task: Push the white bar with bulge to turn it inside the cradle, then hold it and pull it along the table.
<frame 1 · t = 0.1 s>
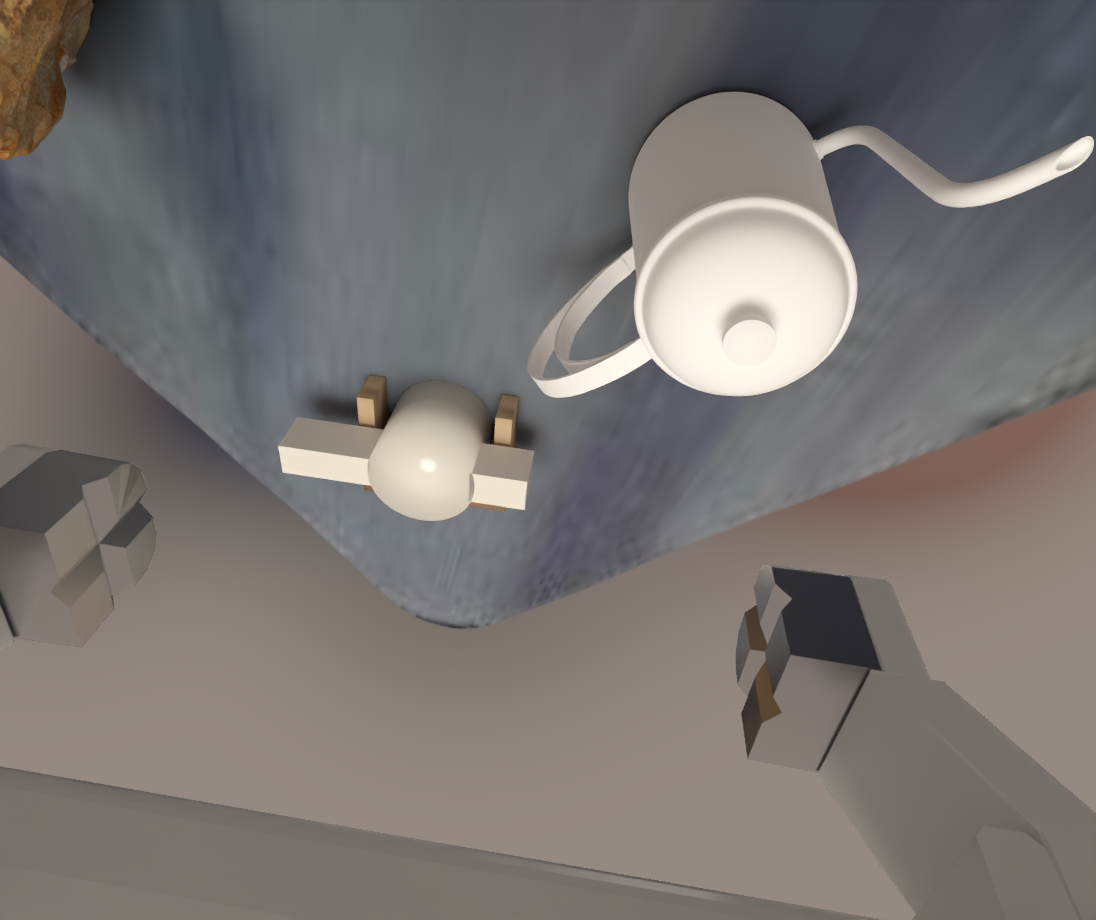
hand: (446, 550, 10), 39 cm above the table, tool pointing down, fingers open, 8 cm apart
white bar with bulge: (443, 422, 58), on the table
cradle: (443, 422, 58), on the table
coffeepot: (729, 182, 44), on the table
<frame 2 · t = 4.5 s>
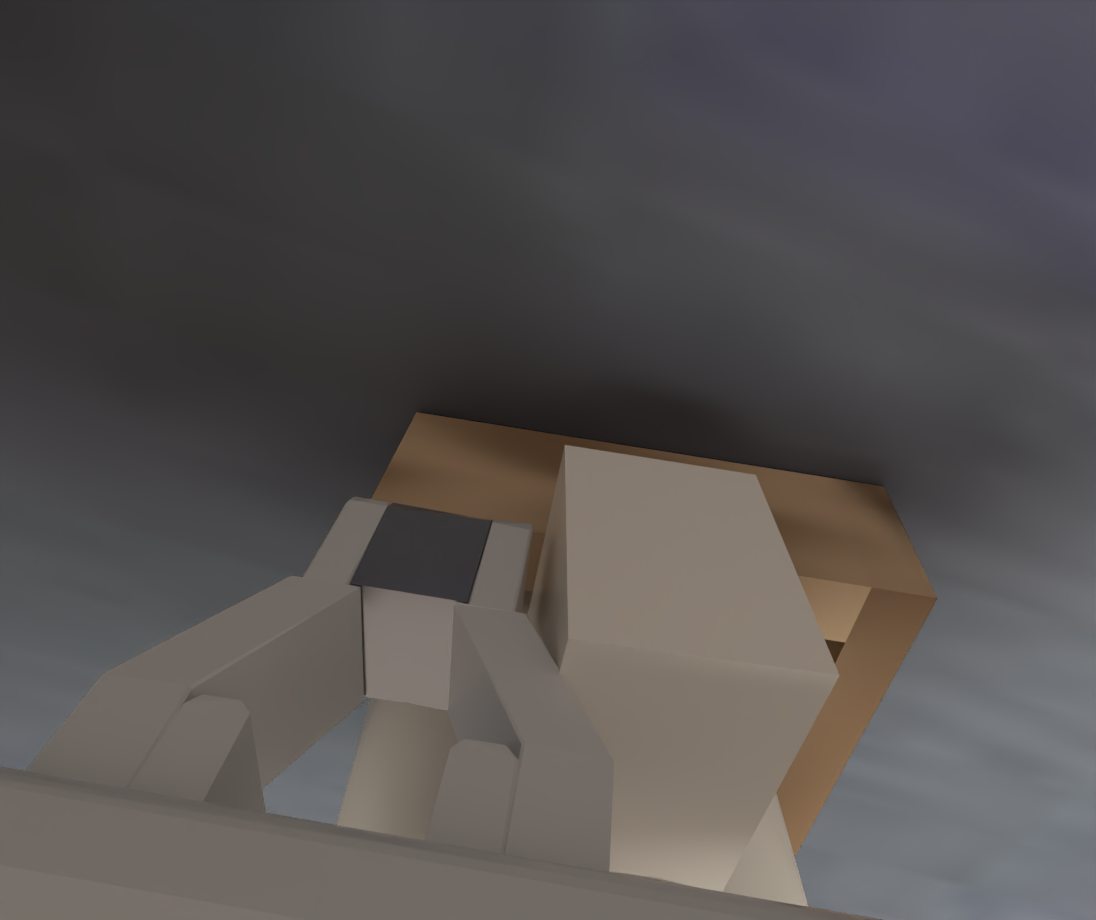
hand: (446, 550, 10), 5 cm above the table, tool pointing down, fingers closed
white bar with bulge: (559, 655, 17), on the table, tilted 6°, touching gripper
cradle: (557, 648, 17), on the table
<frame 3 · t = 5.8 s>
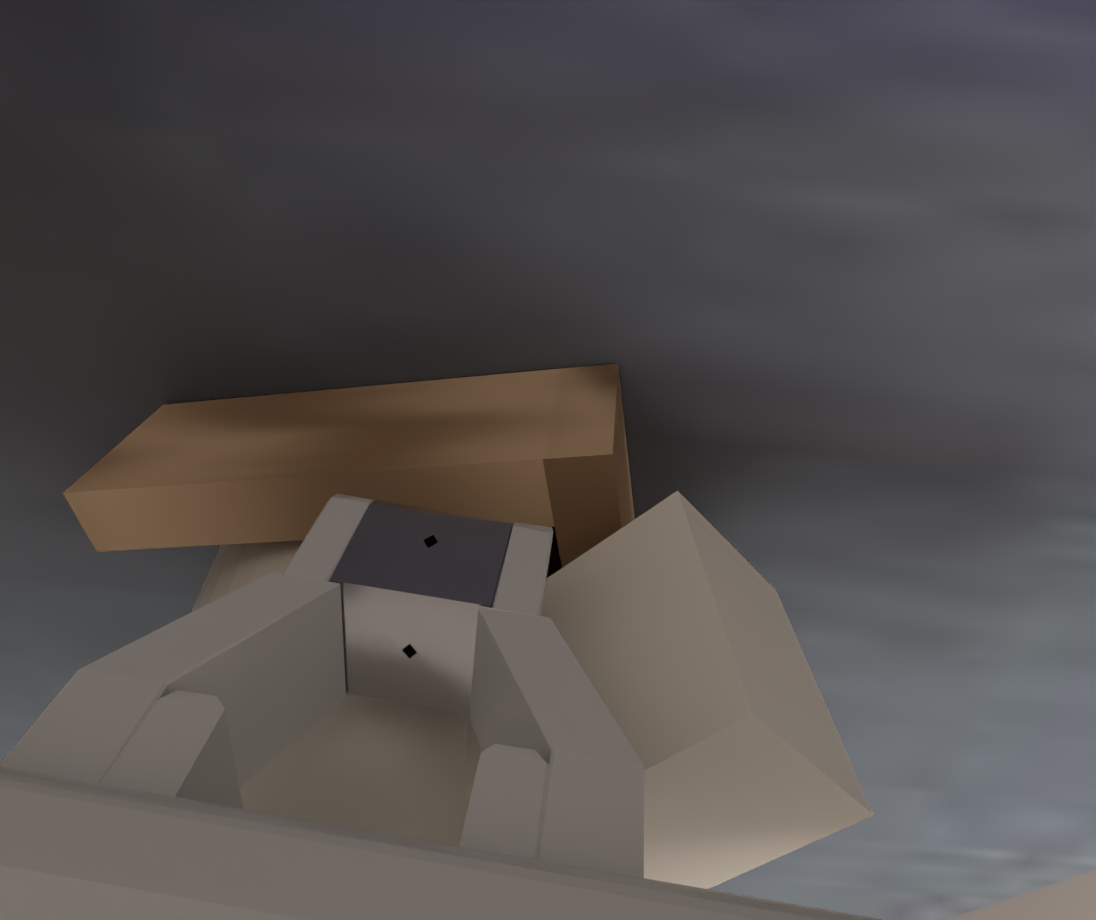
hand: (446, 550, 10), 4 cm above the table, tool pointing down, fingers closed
white bar with bulge: (395, 615, 16), point 1 cm above the table, tilted 10°, touching cradle, gripper
cradle: (402, 612, 17), on the table
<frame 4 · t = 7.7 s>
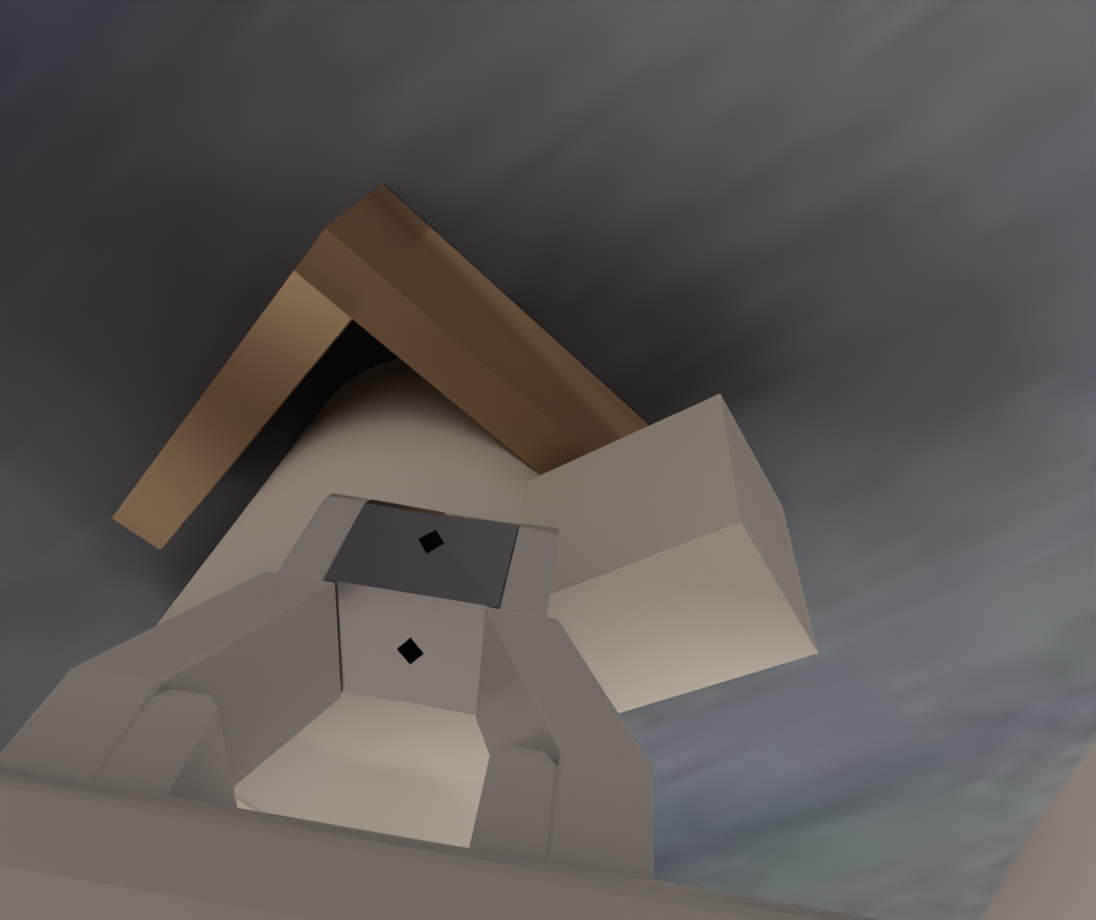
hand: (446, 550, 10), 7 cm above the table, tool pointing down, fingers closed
white bar with bulge: (455, 494, 19), on the table
cradle: (438, 505, 19), on the table
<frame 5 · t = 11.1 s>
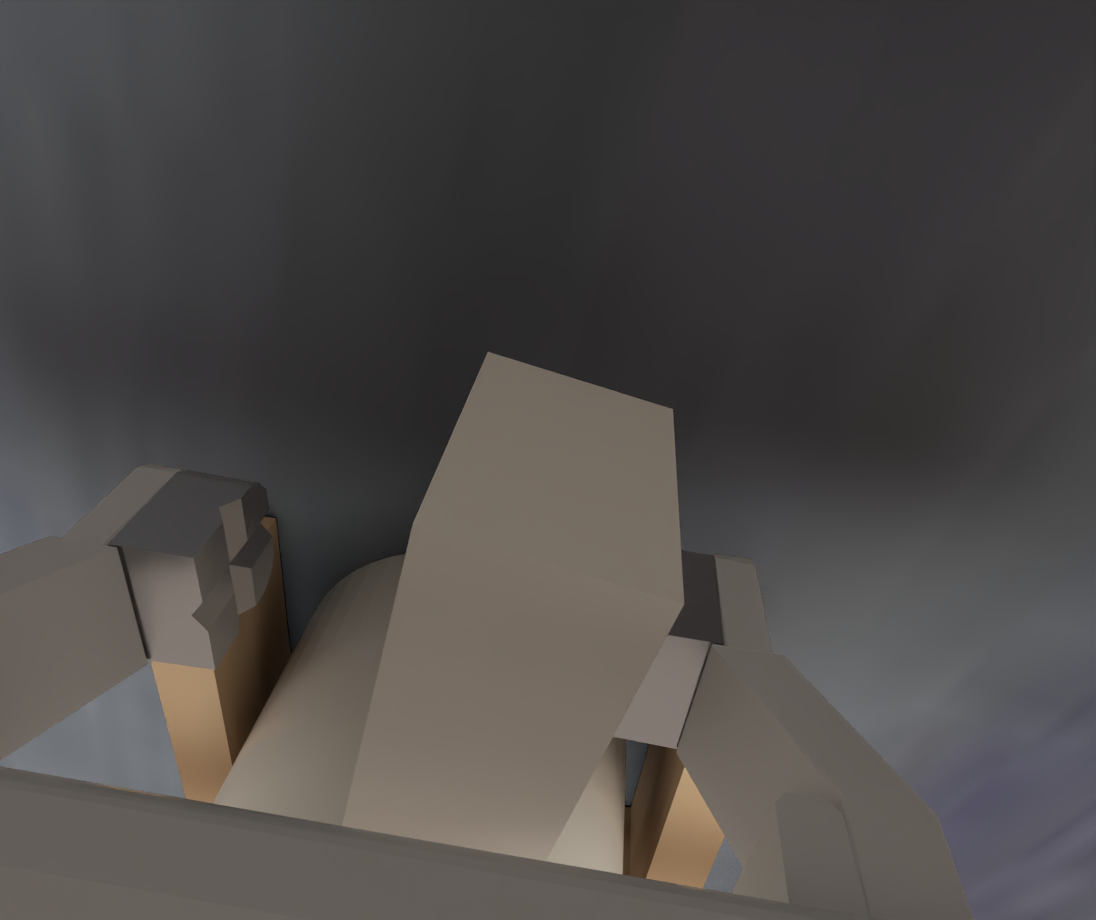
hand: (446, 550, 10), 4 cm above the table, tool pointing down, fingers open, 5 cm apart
white bar with bulge: (465, 677, 18), on the table, touching gripper
cradle: (474, 664, 17), on the table
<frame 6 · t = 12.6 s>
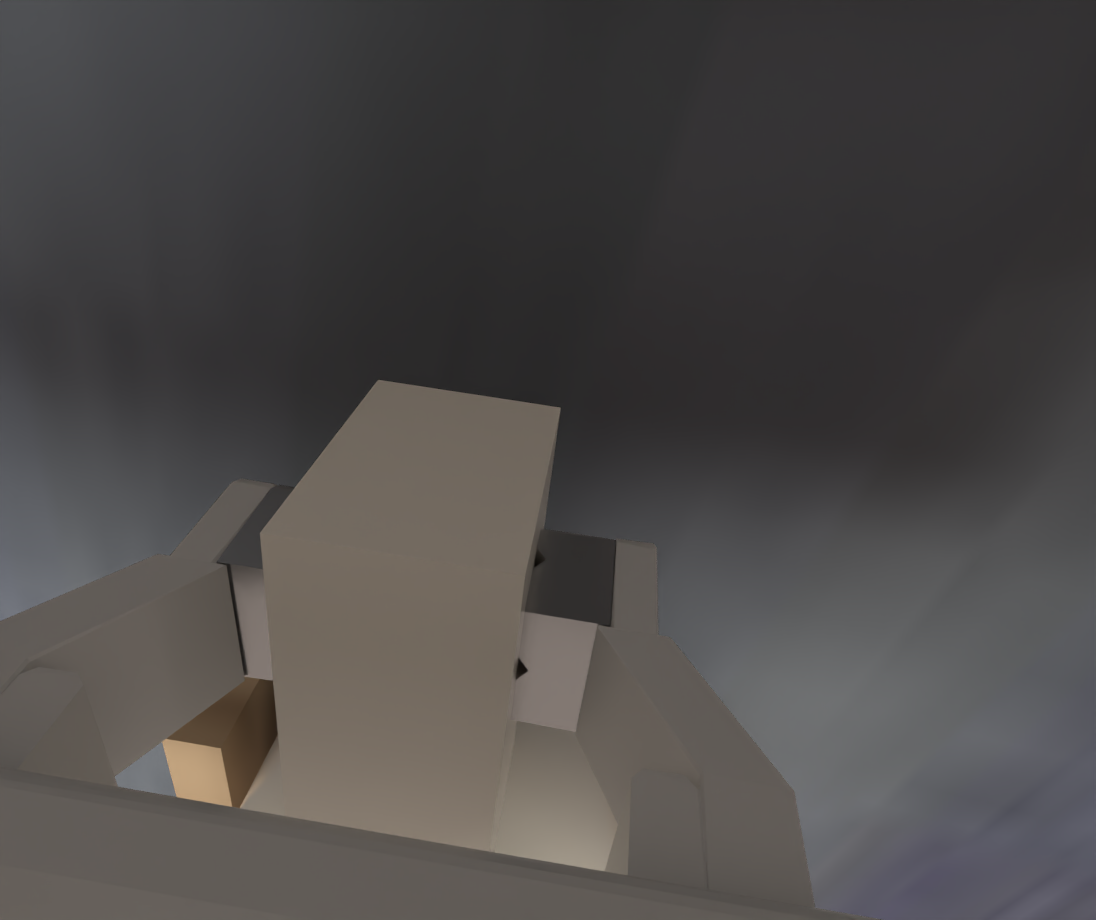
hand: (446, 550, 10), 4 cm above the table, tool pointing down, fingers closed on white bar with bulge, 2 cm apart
white bar with bulge: (470, 717, 18), on the table, touching gripper
cradle: (463, 760, 19), on the table
when the fingers open (4 cm above the table, at t = 14.3 s): white bar with bulge stays where it is, on the table.
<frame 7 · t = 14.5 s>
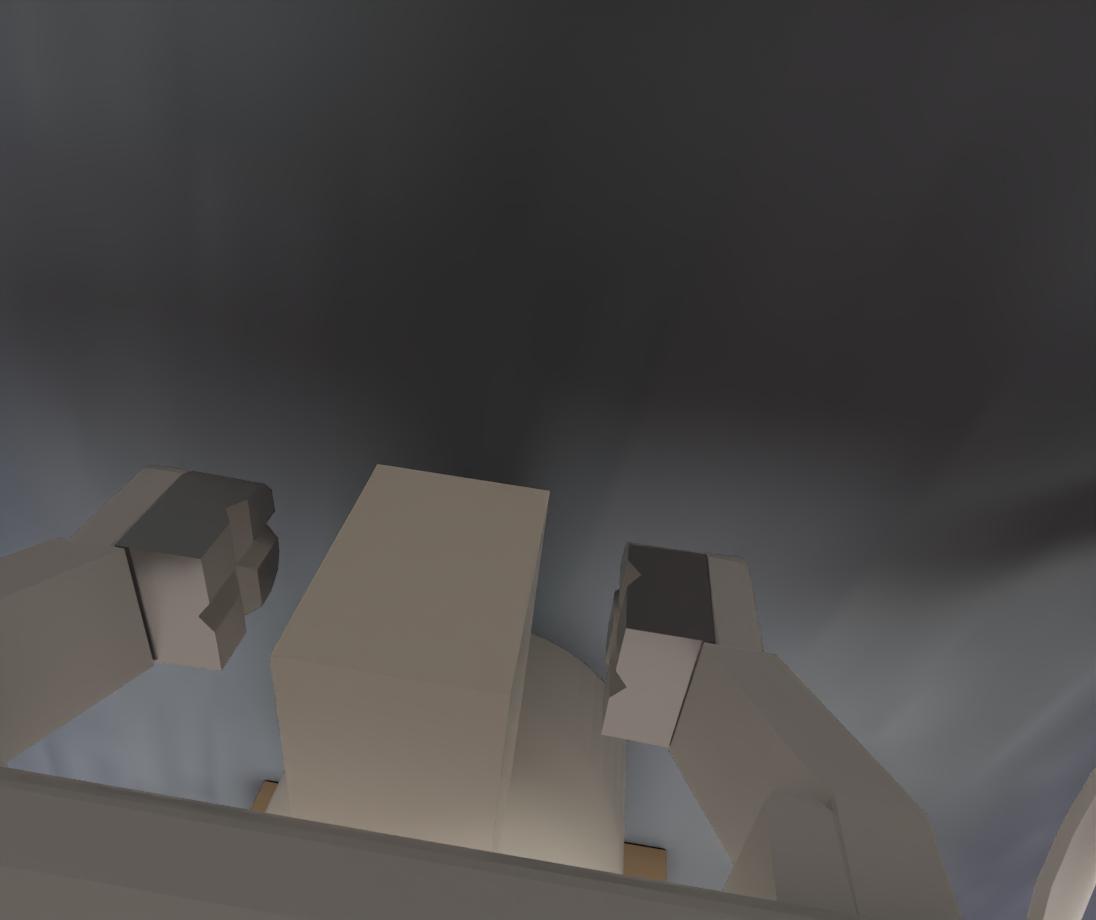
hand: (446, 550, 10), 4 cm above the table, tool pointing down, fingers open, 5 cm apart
white bar with bulge: (473, 728, 19), on the table
cradle: (457, 880, 22), on the table
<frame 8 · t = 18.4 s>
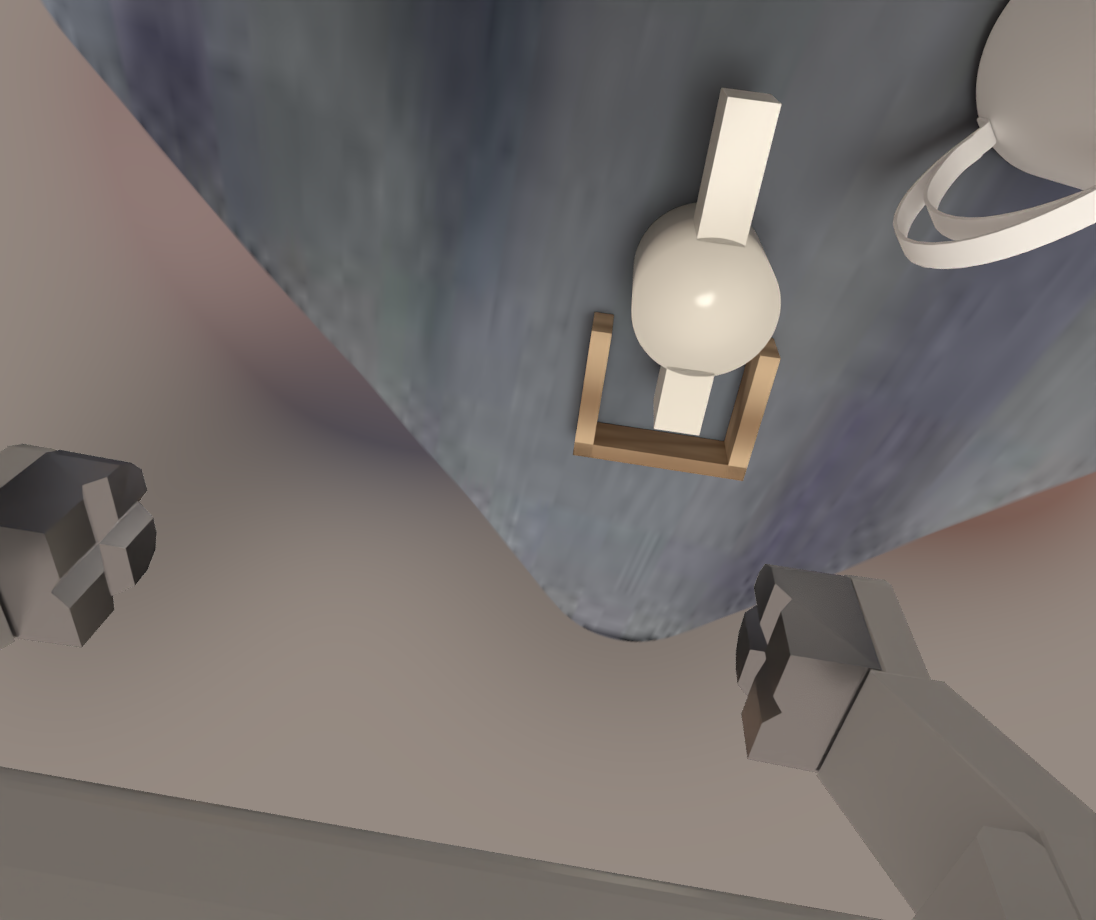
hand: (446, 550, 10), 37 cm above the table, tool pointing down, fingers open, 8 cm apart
white bar with bulge: (697, 267, 45), on the table
cradle: (672, 373, 49), on the table
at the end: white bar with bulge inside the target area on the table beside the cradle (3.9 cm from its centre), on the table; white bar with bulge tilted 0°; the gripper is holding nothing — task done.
